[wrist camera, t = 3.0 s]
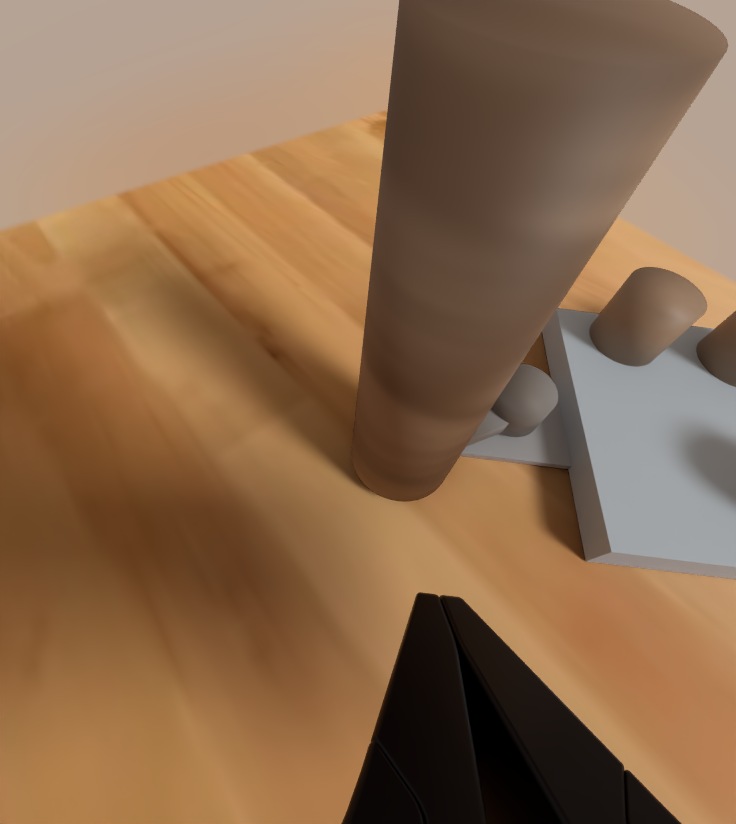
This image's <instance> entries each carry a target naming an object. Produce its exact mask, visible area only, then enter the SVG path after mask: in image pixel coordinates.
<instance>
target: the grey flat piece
mask: <svg viewBox="0 0 736 824" xmlns="http://www.w3.org/2000/svg"><path fill="white" fill-rule="evenodd" d="M706 310H707V302H706V299H705V297H704V295H703V294H702V292H701V291H700V290H699V289H698V288H697V287H696V286H695V285H694V284H693V283H691V282H690V281H689V280H687V279H686V278H684V277H682V276H680V275H678V274H676V273H674V272H671V271H669V270H665V269H661V268H655V267H644V268H640V269H637V270H635V271H634V272H633V273H632V274H631V275H630V276H629V277H628V279H627V280H626V281H625V283H624V284H623V285H622V286H621V288H620V289H619V290H618V291H617V293H616V294H615V295H614V296H613V298H612V299H611V300H610V301H609V303H608V304H607V305H606V306H605V308H604V309H603V310H602V311H601V313H600V314H598V313H590V312H583V311H575V310H568V309H560V308H557V309H556V311H555V312H554V314H553V315H552V317H551V318H550V320H549V321H548V323H547V324H546V326H545V327H544V329H543V331H542V334H543V340H544V345H545V350H546V355H547V361H548V366H549V371H550V376H551V379H552V381H553V382H554V384H555V385H556V388H557V391H558V402H557V404H556V406H555V408H554V409H553V410H552V411H551V412H550V413H549V414H548V415H547V416H546V417H545V419H544V420H543V421H542V422H541V423H540V424H539V425H538V426H537V427H536V428H535V430H534V431H533V432H531V433H530V434H528V435H526V436H523V437H510V436H506V435H503V434H501V433H499V434H497V435H494V436H492V437H489V438H487V439H484V440H482V441H480V442H477V443H475V444H472V445H470V446H467V447H465V449H464V450H463V452H462V453H461V455H460V456H466V457H474V458H482V459H490V460H498V461H506V462H514V463H522V464H530V465H538V466H546V467H554V468H562V469H568V471H569V476H570V481H571V486H572V492H573V497H574V502H575V507H576V513H577V518H578V523H579V528H580V534H581V539H582V544H583V549H584V555H585V560H586V561H587V562H595V563H604V564H612V565H620V566H629V567H637V568H646V569H654V570H662V571H671V572H679V573H687V574H696V575H704V576H712V577H721V578H729V579H736V311H735V312H734V313H733V314H732V315H730V316H729V317H728V318H727V319H726V320H724V321H723V322H722V323H721V324H720V325H719V326H717V327H716V328H715V329H711V328H704V327H696V326H692V325H693V324H694V323H695V322H696V321H697V320H698V319H699V318H700V317H702V316H703V315H704V314H705V312H706Z"/></svg>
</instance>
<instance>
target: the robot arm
mask: <svg viewBox="0 0 736 824" xmlns="http://www.w3.org/2000/svg"><path fill="white" fill-rule="evenodd" d="M342 824H681V823H680V822H679V821H678V820H677V819H676V818H675V817H674V816H673V815H672V814H671V813H670V812H669V811H668V810H667V809H666V808H665V807H664V806H663V805H662V804H661V803H660V802H659V801H658V800H657V799H656V798H655V797H654V796H653V794H652V793H651V792H650V791H649V790H648V789H647V788H646V787H645V786H644V785H643V784H642V783H641V782H640V781H639V780H638V779H637V778H636V777H635V776H634V775H633V774H632V773H631V772H630V771H629V770H625V771H624V766H623V764H622V763H621V762H620V761H619V760H618V759H617V758H616V757H615V756H614V755H613V754H612V753H611V752H610V750H609V749H608V748H607V747H606V746H605V745H604V744H603V743H602V742H601V741H600V740H599V739H598V738H597V737H596V736H595V735H594V734H593V733H592V732H591V731H590V730H589V729H588V728H587V727H586V726H585V725H584V724H583V723H582V722H581V721H580V720H579V719H578V718H577V716H576V715H575V714H574V713H573V712H572V711H571V710H570V709H569V708H568V707H567V706H566V705H565V704H564V703H563V702H562V701H561V700H560V699H559V698H558V697H557V696H556V695H555V694H554V693H553V692H552V691H551V690H550V689H549V688H548V687H547V686H546V685H545V684H544V682H543V681H542V680H541V679H540V678H539V677H538V676H537V675H536V674H535V673H534V672H533V671H532V670H531V669H530V668H529V667H528V666H527V665H526V664H525V663H524V662H523V661H522V660H521V659H520V658H519V657H518V656H517V655H516V654H515V653H514V652H513V651H512V650H511V648H510V647H509V646H508V645H507V644H506V643H505V642H504V641H503V640H502V639H501V638H500V637H499V636H498V635H497V634H496V633H495V632H494V631H493V630H492V629H491V628H490V627H489V626H488V625H487V624H486V623H485V622H484V621H483V620H482V619H481V618H480V617H479V616H478V615H477V613H476V612H475V611H474V610H473V609H472V608H471V607H470V606H469V605H468V604H467V603H466V602H465V601H464V600H463V599H462V598H460V597H454V596H446V595H441V596H440V597H439V596H438V595H436V594H429V593H418V594H417V595H416V598H415V601H414V604H413V607H412V611H411V614H410V617H409V620H408V623H407V627H406V630H405V633H404V636H403V639H402V642H401V646H400V649H399V652H398V655H397V658H396V662H395V665H394V668H393V671H392V674H391V678H390V681H389V684H388V687H387V690H386V694H385V697H384V700H383V703H382V706H381V710H380V713H379V716H378V719H377V722H376V726H375V729H374V732H373V735H372V738H371V743H370V744H369V747H368V750H367V753H366V757H365V760H364V763H363V766H362V769H361V772H360V775H359V778H358V781H357V784H356V787H355V789H354V792H353V795H352V798H351V801H350V804H349V806H348V809H347V812H346V815H345V817H344V819H343V822H342Z"/></svg>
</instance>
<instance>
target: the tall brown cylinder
mask: <svg viewBox="0 0 736 824" xmlns="http://www.w3.org/2000/svg"><path fill="white" fill-rule="evenodd" d="M397 19H398V20H397V28H396V37H395V46H394V57H393V66H392V75H391V85H390V94H389V103H388V112H387V122H386V131H385V140H384V150H383V159H382V169H381V178H380V187H379V197H378V206H377V216H376V225H375V234H374V244H373V253H372V263H371V272H370V281H369V291H368V300H367V310H366V319H365V328H364V338H363V347H362V357H361V366H360V375H359V385H358V394H357V404H356V413H355V422H354V432H353V441H352V453H351V454H352V462H353V466H354V468H355V471H356V473H357V475H358V476H359V478H360V479H361V481H362V482H363V483H364V484H365V485H366V486H367V487H368V488H369V489H370V490H372V491H373V492H375V493H376V494H378V495H380V496H382V497H384V498H387V499H390V500H395V501H414V500H418V499H421V498H424V497H426V496H428V495H430V494H431V493H433V492H434V491H435V490H436V489H437V488H438V487H439V486H440V485H441V484H442V482H443V481H444V479H445V478H446V476H447V475H448V473H449V472H450V470H451V469H452V467H453V466H454V464H455V463H456V461H457V460H458V458H459V457H460V455H461V453H462V452H463V450H464V449H465V447H467V446H470V445H472V444H475V443H477V442H480V441H482V440H484V439H487V438H489V437H492V436H494V435H497V434H499V433H501V434H503V435H506V436H510V437H523V436H526V435H528V434H530V433H531V432H533V431H534V430H535V428H536V427H537V426H538V425H539V424H540V423H541V422H542V421H543V420H544V419H545V417H546V416H547V415H548V414H549V413H550V412H551V411H552V410H553V409H554V408H555V406H556V404H557V402H558V391H557V388H556V385H555V384H554V382H553V381H552V379H551V378H550V377H549V376H548V375H547V374H546V373H544V372H543V371H542V370H540V369H538V368H536V367H534V366H531V365H528V364H523V363H521V362H522V361H523V359H524V358H525V356H526V355H527V353H528V352H529V350H530V349H531V347H532V346H533V344H534V343H535V341H536V340H537V338H538V337H539V335H540V334H541V332H542V331H543V329H544V327H545V326H546V324H547V323H548V321H549V320H550V318H551V317H552V315H553V314H554V312H555V311H556V309H557V308H558V306H559V305H560V303H561V302H562V300H563V299H564V297H565V296H566V294H567V293H568V291H569V290H570V288H571V286H572V285H573V283H574V282H575V280H576V279H577V277H578V276H579V274H580V273H581V271H582V270H583V268H584V267H585V265H586V264H587V262H588V261H589V259H590V258H591V256H592V255H593V253H594V252H595V250H596V249H597V247H598V245H599V244H600V242H601V241H602V239H603V238H604V236H605V235H606V233H607V232H608V230H609V229H610V227H611V226H612V224H613V223H614V221H615V220H616V218H617V217H618V215H619V214H620V212H621V210H622V209H623V208H624V206H625V204H626V203H627V201H628V200H629V198H630V197H631V195H632V194H633V192H634V191H635V189H636V188H637V186H638V185H639V183H640V182H641V180H642V179H643V177H644V176H645V174H646V173H647V171H648V170H649V168H650V167H651V165H652V163H653V162H654V160H655V159H656V157H657V156H658V154H659V153H660V151H661V150H662V148H663V147H664V145H665V144H666V142H667V141H668V139H669V138H670V136H671V135H672V133H673V131H674V130H675V129H676V127H677V126H678V124H679V122H680V121H681V119H682V118H683V116H684V115H685V113H686V112H687V110H688V109H689V107H690V106H691V104H692V103H693V101H694V100H695V98H696V97H697V95H698V94H699V92H700V90H701V89H702V87H703V86H704V85H705V83H706V82H707V80H708V78H709V77H710V75H711V74H712V72H713V71H714V69H715V68H716V66H717V65H718V63H719V62H720V60H721V58H722V57H723V56H724V54H725V53H726V51H727V48H728V43H727V39H726V38H725V36H724V34H723V33H722V32H721V31H720V30H719V29H718V28H717V27H716V26H715V25H713V24H712V23H711V22H710V21H708V20H707V19H705V18H703V17H702V16H700V15H699V14H697V13H695V12H693V11H691V10H689V9H687V8H685V7H683V6H681V5H679V4H677V3H674V2H672V1H670V0H399V10H398V18H397Z"/></svg>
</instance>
